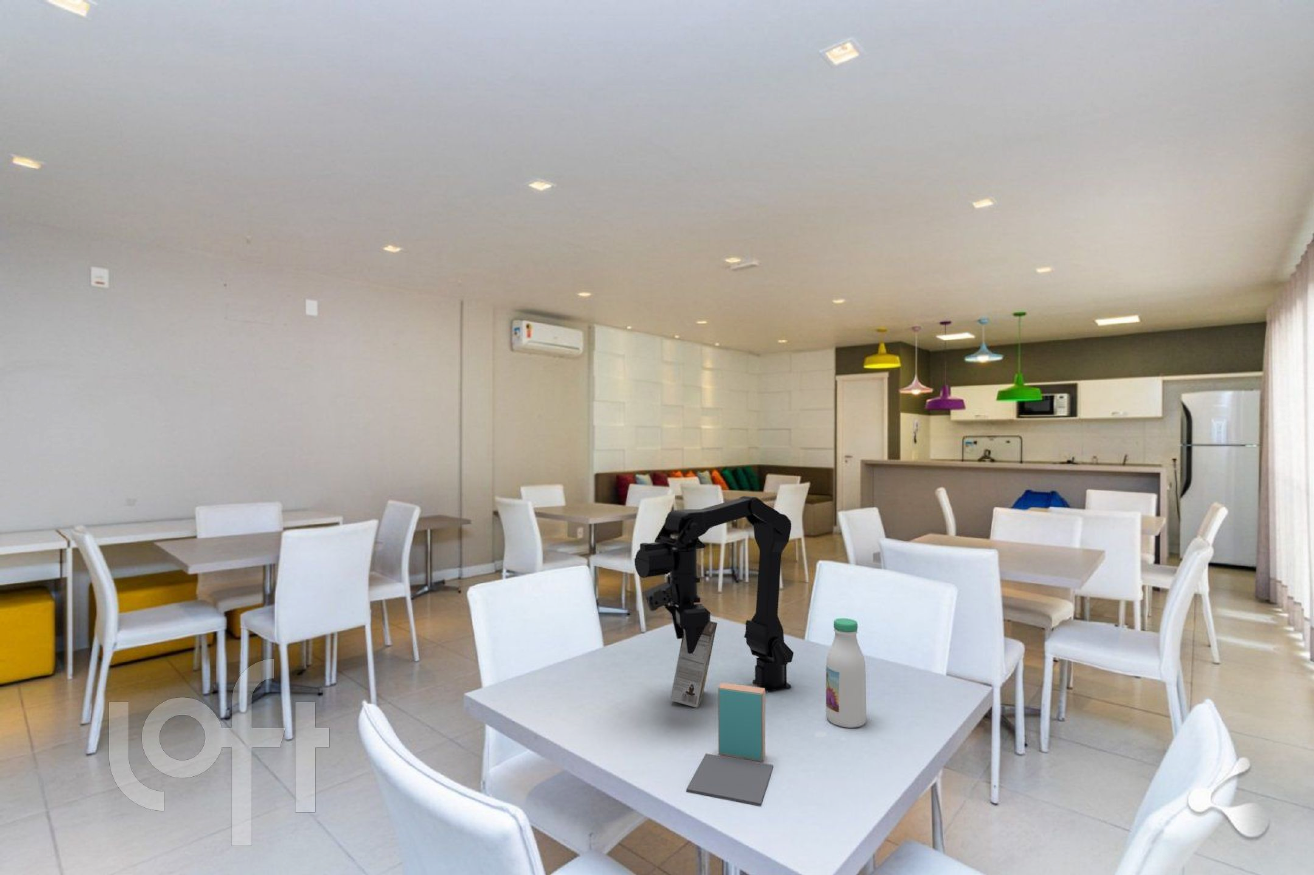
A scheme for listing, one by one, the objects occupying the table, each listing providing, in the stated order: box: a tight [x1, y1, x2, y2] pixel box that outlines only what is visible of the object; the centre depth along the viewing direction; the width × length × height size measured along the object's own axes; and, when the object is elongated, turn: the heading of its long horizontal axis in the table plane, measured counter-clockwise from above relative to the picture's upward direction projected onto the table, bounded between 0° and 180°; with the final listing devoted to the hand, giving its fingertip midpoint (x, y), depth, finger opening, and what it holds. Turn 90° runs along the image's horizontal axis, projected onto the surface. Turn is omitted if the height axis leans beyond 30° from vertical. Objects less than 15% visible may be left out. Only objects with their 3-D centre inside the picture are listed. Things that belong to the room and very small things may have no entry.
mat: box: [685, 753, 774, 807], centre depth 104 cm, size 12×12×1 cm
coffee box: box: [669, 620, 718, 708], centre depth 135 cm, size 9×6×16 cm
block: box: [717, 682, 766, 763], centre depth 111 cm, size 3×8×12 cm, turn 70°
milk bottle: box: [825, 617, 867, 729], centre depth 125 cm, size 8×8×20 cm
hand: (684, 645), depth 130 cm, fingers open, 9 cm apart
